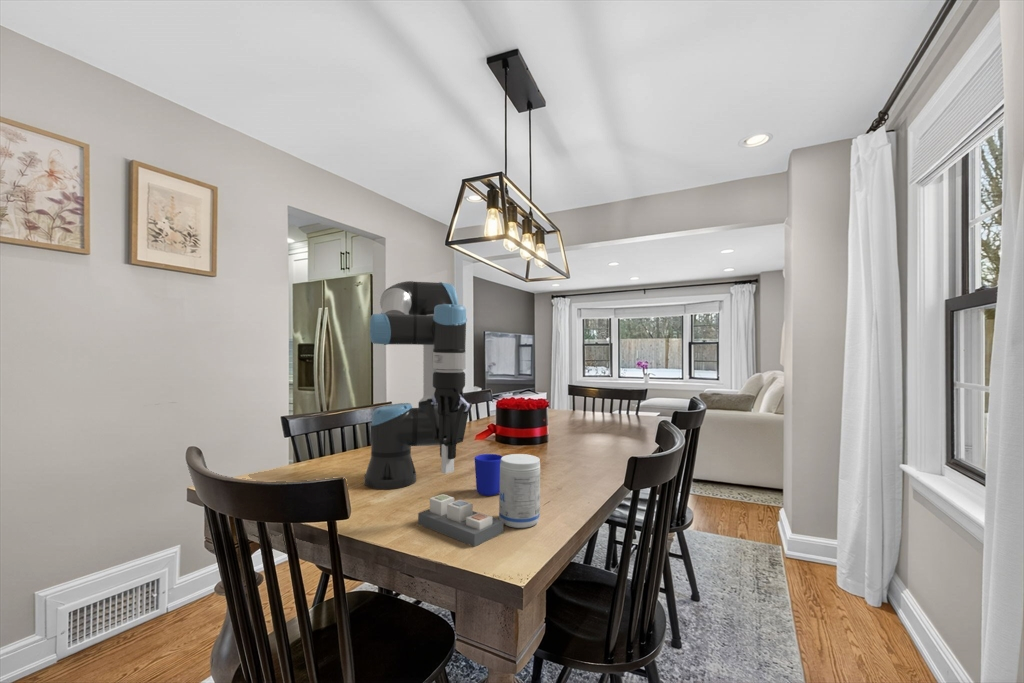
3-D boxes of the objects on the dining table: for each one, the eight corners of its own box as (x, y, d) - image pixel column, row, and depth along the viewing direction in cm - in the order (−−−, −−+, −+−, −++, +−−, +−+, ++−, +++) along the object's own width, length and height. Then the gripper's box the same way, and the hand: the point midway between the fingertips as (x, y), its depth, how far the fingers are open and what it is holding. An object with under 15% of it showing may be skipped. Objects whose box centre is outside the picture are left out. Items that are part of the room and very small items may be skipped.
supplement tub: (494, 515, 104) (495, 454, 104) (531, 511, 107) (531, 452, 107) (505, 531, 95) (506, 464, 95) (546, 527, 98) (546, 461, 98)
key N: (429, 512, 100) (429, 497, 100) (442, 507, 103) (442, 493, 103) (441, 516, 98) (441, 501, 98) (454, 511, 101) (454, 496, 101)
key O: (465, 532, 92) (466, 516, 93) (478, 527, 96) (479, 511, 96) (479, 537, 90) (479, 521, 90) (492, 531, 93) (492, 516, 93)
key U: (447, 518, 96) (447, 503, 96) (460, 513, 99) (460, 498, 99) (459, 523, 94) (459, 507, 94) (472, 517, 97) (472, 502, 97)
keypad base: (418, 524, 99) (418, 512, 99) (447, 512, 106) (447, 502, 106) (474, 546, 87) (474, 534, 87) (503, 532, 94) (503, 521, 94)
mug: (516, 498, 117) (517, 461, 117) (472, 497, 117) (473, 460, 117) (517, 488, 125) (517, 454, 125) (475, 488, 125) (476, 453, 125)
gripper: (418, 370, 101) (416, 470, 101) (457, 373, 93) (455, 481, 93) (441, 368, 107) (440, 463, 107) (480, 371, 99) (479, 473, 99)
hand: (447, 471), depth 100 cm, fingers closed
